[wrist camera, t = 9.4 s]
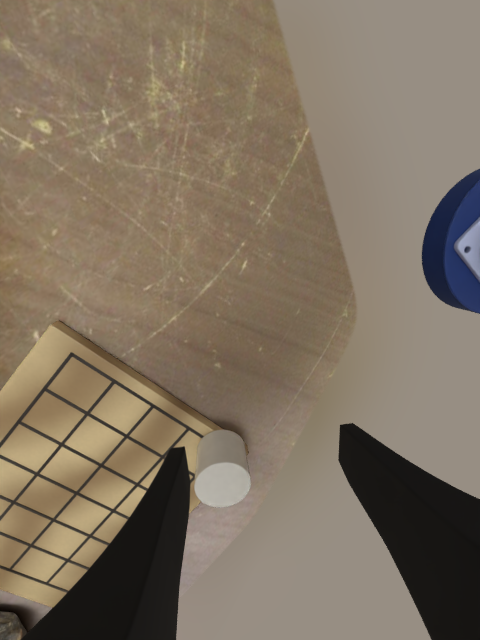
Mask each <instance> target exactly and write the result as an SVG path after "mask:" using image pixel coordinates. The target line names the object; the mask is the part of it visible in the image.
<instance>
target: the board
mask: <svg viewBox="0 0 480 640" xmlns="http://www.w3.org/2000/svg"><path fill="white" fill-rule="evenodd" d="M216 430H224V429H222V428H221V427H219V426H218V425H216V424H215V423H213V422H212V421H210V420H209V419H207V418H205V417H204V416H202V415H201V414H199V413H198V412H196V411H195V410H193V409H192V408H190V407H189V406H187V405H186V404H184V403H183V402H181V401H180V400H178V399H177V398H175V397H174V396H172V395H171V394H169V393H168V392H166V391H165V390H163V389H162V388H160V387H159V386H157V385H155V384H154V383H152V382H151V381H149V380H148V379H146V378H145V377H143V376H142V375H140V374H139V373H137V372H136V371H134V370H133V369H131V368H130V367H128V366H127V365H125V364H124V363H122V362H121V361H119V360H118V359H116V358H115V357H113V356H112V355H110V354H109V353H107V352H105V351H104V350H102V349H101V348H99V347H98V346H96V345H95V344H93V343H92V342H90V341H89V340H87V339H86V338H84V337H83V336H81V335H80V334H78V333H77V332H75V331H74V330H72V329H71V328H69V327H68V326H66V325H65V324H63V323H62V322H60V321H57V322H55V323H53V324H51V325H50V326H49V327H48V328H47V330H46V331H45V332H44V334H43V335H42V336H41V338H40V339H39V340H38V342H37V343H36V344H35V346H34V347H33V348H32V350H31V351H30V352H29V354H28V355H27V356H26V358H25V359H24V360H23V362H22V363H21V364H20V365H19V367H18V368H17V369H16V371H15V372H14V373H13V375H12V376H11V377H10V379H9V380H8V381H7V383H6V384H5V385H4V387H3V388H2V389H1V391H0V590H3V591H6V592H9V593H12V594H15V595H18V596H20V597H23V598H26V599H29V600H32V601H35V602H38V603H41V604H44V605H46V606H49V607H52V608H53V607H54V606H55V605H56V604H57V603H58V602H59V601H60V600H61V599H62V598H63V597H64V596H65V594H66V593H67V592H68V591H69V590H70V589H71V588H72V587H73V586H74V585H75V584H76V583H77V581H78V580H79V579H80V578H81V577H82V576H83V575H84V574H85V573H86V572H87V570H88V569H89V568H90V567H91V566H92V565H93V563H94V562H95V561H96V560H97V559H98V557H99V556H100V555H101V554H102V552H103V551H104V550H105V549H106V548H107V546H108V545H109V544H110V543H111V541H112V540H113V539H114V537H115V536H116V535H117V533H118V532H119V531H120V530H121V528H122V527H123V525H124V524H125V523H126V521H127V520H128V518H129V517H130V516H131V514H132V513H133V511H134V510H135V508H136V507H137V505H138V504H139V502H140V500H141V499H142V497H143V496H144V494H145V493H146V491H147V489H148V488H149V486H150V484H151V483H152V481H153V479H154V478H155V476H156V474H157V472H158V471H159V469H160V467H161V465H162V463H163V461H164V459H165V457H166V455H167V453H168V451H169V450H170V449H171V448H176V447H183V446H185V450H186V457H187V463H188V469H189V475H190V482H191V485H190V509H189V514H190V513H191V512H192V511H193V510H194V509H195V508H196V507H197V505H198V504H199V503H200V502H201V501H200V500H199V499H198V497H197V496H196V493H195V490H194V482H195V468H196V453H197V446H198V444H199V442H200V440H201V439H202V438H203V437H204V436H205V435H207V434H208V433H210V432H213V431H216ZM244 444H245V443H244ZM245 449H246V455H248V453H249V452H248V447H247V445H246V444H245Z"/></svg>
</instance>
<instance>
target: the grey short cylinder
mask: <svg viewBox="0 0 480 640" xmlns="http://www.w3.org/2000/svg"><path fill="white" fill-rule="evenodd" d="M250 486H251V478H250V472H249V466H248V461H247V455H246V449H245V444H244V441H243V439H242V438H241V437H240V436H239V435H238V434H236V433H235V432H232V431H229V430H216V431H213V432H210V433H208V434H207V435H205V436H204V437H203V438H202V439H201V440H200V442H199V444H198V446H197V453H196V468H195V482H194V490H195V493H196V496H197V497H198V499H199V500H200V501H201V502H203V503H204V504H206V505H208V506H211V507H218V508H220V507H228V506H232V505H234V504H236V503H238V502H240V501H241V500H242V499H243V498H244V497H245V496H246V495H247V493H248V492H249V490H250Z"/></svg>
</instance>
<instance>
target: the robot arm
mask: <svg viewBox="0 0 480 640" xmlns="http://www.w3.org/2000/svg"><path fill="white" fill-rule="evenodd" d="M465 248H466V250H465V252H464V249H465ZM454 250H455V251H456V252H457V254H458V255H459V256H460V258H461V259H462V260H463V261H464V263H465V264H466V265H467V267H468V268H469V269H470V270H471V272H472V273H473V274H474V276H475V277H476V278H477V279H478V281H479V282H480V217H479V218H478V219H477V220H476V221H475V222H474V223H473V224H472V225H471V226H470V227H469V228H468V229H467V230H466V231H465V232H464V233H463V234H462V235H461V236H460V237H459V238H458V239H457V240H456V242H455V244H454ZM339 462H340V465H341V467H342V469H343V471H344V474H345V476H346V478H347V480H348V482H349V484H350V486H351V487H352V489H353V491H354V493H355V494H356V496H357V497H358V499H359V501H360V502H361V504H362V506H363V508H364V509H365V511H366V512H367V514H368V516H369V517H370V519H371V521H372V522H373V524H374V526H375V527H376V529H377V531H378V532H379V534H380V536H381V537H382V539H383V541H384V543H385V544H386V546H387V548H388V550H389V552H390V554H391V556H392V558H393V560H394V562H395V563H396V566H397V568H398V570H399V572H400V574H401V576H402V578H403V580H404V582H405V584H406V586H407V588H408V590H409V592H410V594H411V596H412V598H413V600H414V603H415V605H416V607H417V609H418V611H419V613H420V615H421V617H422V619H423V622H424V624H425V626H426V628H427V630H428V633H429V635H430V637H431V639H432V640H480V499H478V498H476V497H473V496H471V495H469V494H467V493H465V492H463V491H461V490H459V489H457V488H455V487H453V486H451V485H449V484H448V483H446V482H444V481H442V480H440V479H438V478H436V477H435V476H433V475H431V474H429V473H428V472H426V471H424V470H423V469H421V468H419V467H418V466H416V465H414V464H413V463H411V462H409V461H408V460H406V459H405V458H403V457H402V456H400V455H398V454H397V453H395V452H394V451H392V450H391V449H389V448H388V447H386V446H385V445H384V444H382V443H381V442H379V441H378V440H376V439H375V438H373V437H372V436H371V435H369V434H368V433H366V432H365V431H363V430H362V429H360V428H359V427H358V426H356V425H355V424H353V423H352V424H343V425H340V440H339ZM190 485H191V482H190V475H189V469H188V463H187V457H186V450H185V446H183V447H176V448H171V449H170V450H169V451H168V453H167V455H166V457H165V459H164V461H163V463H162V465H161V467H160V469H159V471H158V472H157V474H156V476H155V478H154V479H153V481H152V483H151V484H150V486H149V488H148V489H147V491H146V493H145V494H144V496H143V497H142V499H141V500H140V502H139V504H138V505H137V507H136V508H135V510H134V511H133V513H132V514H131V516H130V517H129V518H128V520H127V521H126V523H125V524H124V525H123V527H122V528H121V530H120V531H119V532H118V533H117V535H116V536H115V537H114V539H113V540H112V541H111V543H110V544H109V545H108V546H107V548H106V549H105V550H104V551H103V552H102V554H101V555H100V556H99V557H98V559H97V560H96V561H95V562H94V563H93V565H92V566H91V567H90V568H89V569H88V570H87V572H86V573H85V574H84V575H83V576H82V577H81V578H80V579H79V580H78V581H77V583H76V584H75V585H74V586H73V587H72V588H71V589H70V590H69V591H68V592H67V593H66V594H65V596H64V597H63V598H62V599H61V600H60V601H59V602H58V603H57V604H56V605H55V606H54V607H53V608H52V609H51V610H50V611H49V612H48V613H47V614H46V615H45V616H44V617H43V618H42V619H41V620H40V621H39V622H38V623H37V624H36V625H35V626H34V627H33V628H32V629H31V630H30V631H29V632H28V633H27V634H26V635H25V636H24V637H23V638H22V639H21V640H176V630H177V614H178V598H179V585H180V575H181V568H182V560H183V553H184V546H185V539H186V531H187V524H188V517H189V509H190Z"/></svg>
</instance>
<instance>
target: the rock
mask: <svg viewBox="0 0 480 640" xmlns="http://www.w3.org/2000/svg"><path fill="white" fill-rule="evenodd" d="M26 634H27V631H26V629H25V628H24V627H23V625H22V624H21V622H20V619H19V618H18V617H17V615H16V614H15V613H13V612H0V640H21V639H22V638H23V637H24V636H25V635H26Z"/></svg>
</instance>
